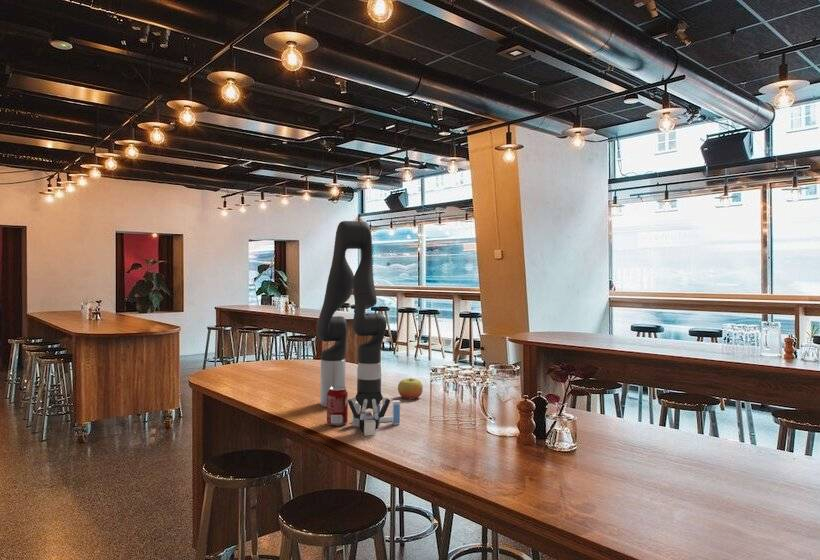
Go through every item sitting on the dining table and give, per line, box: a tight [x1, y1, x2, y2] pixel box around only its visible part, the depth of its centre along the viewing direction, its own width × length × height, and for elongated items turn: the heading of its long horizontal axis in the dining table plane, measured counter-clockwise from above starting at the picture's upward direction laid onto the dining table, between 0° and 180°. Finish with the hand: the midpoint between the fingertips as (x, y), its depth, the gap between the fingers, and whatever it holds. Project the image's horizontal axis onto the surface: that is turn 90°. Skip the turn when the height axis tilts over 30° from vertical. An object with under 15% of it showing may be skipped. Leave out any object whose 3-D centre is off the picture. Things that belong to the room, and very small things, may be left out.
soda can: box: [326, 386, 349, 427], centre depth 186 cm, size 7×7×12 cm
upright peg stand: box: [351, 399, 401, 427], centre depth 187 cm, size 5×16×8 cm, turn 101°
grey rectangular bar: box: [363, 411, 376, 437], centre depth 180 cm, size 13×3×4 cm, turn 11°
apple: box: [397, 378, 424, 400], centre depth 225 cm, size 10×10×8 cm
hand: (368, 430), depth 178 cm, fingers closed on grey rectangular bar, 3 cm apart
